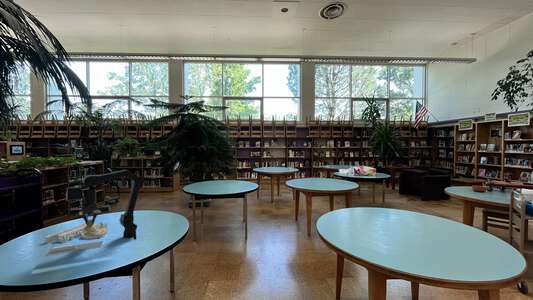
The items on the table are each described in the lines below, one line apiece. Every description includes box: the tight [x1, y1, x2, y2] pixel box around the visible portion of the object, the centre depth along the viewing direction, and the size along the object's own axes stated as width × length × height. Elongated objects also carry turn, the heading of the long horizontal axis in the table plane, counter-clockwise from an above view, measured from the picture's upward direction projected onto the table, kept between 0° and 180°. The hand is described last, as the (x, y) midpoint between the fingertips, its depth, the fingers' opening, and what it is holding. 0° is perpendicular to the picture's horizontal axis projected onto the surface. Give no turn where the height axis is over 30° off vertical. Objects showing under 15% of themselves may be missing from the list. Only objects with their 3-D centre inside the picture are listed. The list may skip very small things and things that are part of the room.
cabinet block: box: [84, 219, 98, 237], centre depth 137 cm, size 5×6×8 cm
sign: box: [44, 222, 108, 244], centre depth 157 cm, size 30×4×30 cm
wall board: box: [44, 240, 104, 257], centre depth 134 cm, size 24×10×4 cm, turn 117°
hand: (90, 225), depth 137 cm, fingers closed on cabinet block
